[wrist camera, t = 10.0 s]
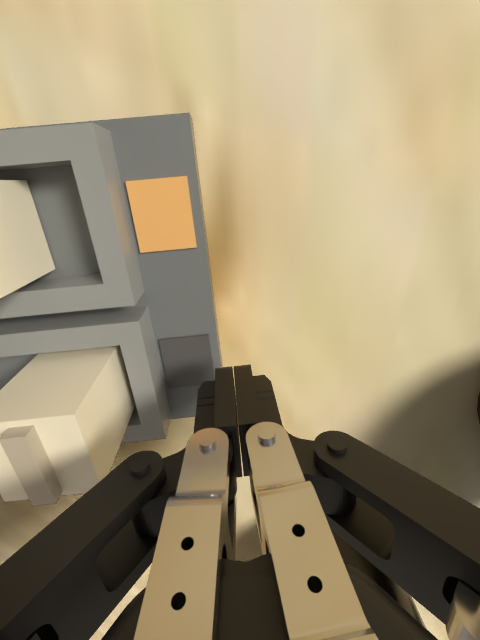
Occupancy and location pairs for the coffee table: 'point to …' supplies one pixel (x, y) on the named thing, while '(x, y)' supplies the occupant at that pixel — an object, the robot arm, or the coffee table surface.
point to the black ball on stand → (478, 407)
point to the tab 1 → (20, 238)
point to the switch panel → (117, 258)
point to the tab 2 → (62, 423)
